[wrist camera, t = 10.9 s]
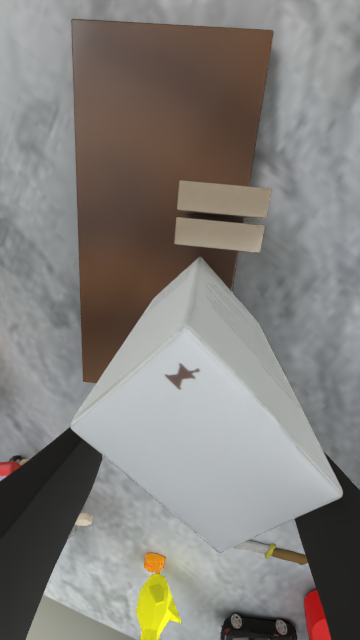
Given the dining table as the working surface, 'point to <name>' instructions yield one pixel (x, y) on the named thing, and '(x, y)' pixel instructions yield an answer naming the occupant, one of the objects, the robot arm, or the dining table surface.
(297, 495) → the cosmetic box
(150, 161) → the book rack
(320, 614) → the mechanical component
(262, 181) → the dining table surface
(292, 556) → the knife
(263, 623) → the toy car
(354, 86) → the dining table surface
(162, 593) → the toy figure
